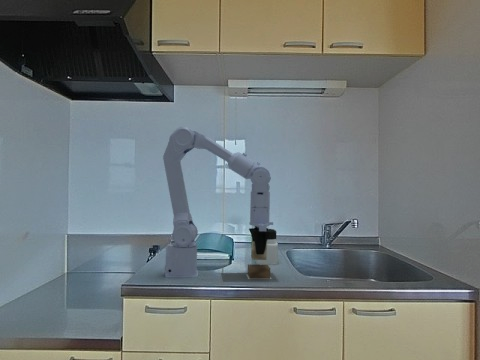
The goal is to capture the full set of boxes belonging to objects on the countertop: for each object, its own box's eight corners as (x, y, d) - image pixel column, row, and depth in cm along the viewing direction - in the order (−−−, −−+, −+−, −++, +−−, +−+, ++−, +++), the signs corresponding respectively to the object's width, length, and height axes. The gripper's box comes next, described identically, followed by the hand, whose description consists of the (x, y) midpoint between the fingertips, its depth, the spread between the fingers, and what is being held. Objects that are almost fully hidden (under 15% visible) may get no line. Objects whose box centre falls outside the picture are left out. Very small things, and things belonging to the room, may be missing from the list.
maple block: (252, 259, 138) (253, 242, 138) (251, 257, 142) (251, 240, 142) (266, 259, 139) (266, 242, 139) (264, 257, 143) (264, 240, 143)
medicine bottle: (277, 262, 167) (278, 228, 167) (277, 265, 160) (277, 230, 160) (257, 261, 168) (258, 227, 168) (256, 265, 161) (256, 229, 161)
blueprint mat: (222, 282, 133) (222, 281, 133) (220, 274, 145) (220, 272, 145) (279, 282, 134) (279, 281, 134) (272, 274, 146) (272, 273, 146)
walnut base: (249, 278, 137) (249, 268, 137) (247, 274, 143) (247, 264, 143) (270, 278, 138) (270, 268, 138) (267, 274, 144) (267, 264, 144)
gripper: (277, 209, 134) (276, 257, 134) (269, 206, 148) (268, 249, 148) (252, 208, 133) (251, 257, 133) (247, 205, 147) (246, 249, 148)
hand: (259, 253), depth 141 cm, fingers closed on maple block, 4 cm apart
